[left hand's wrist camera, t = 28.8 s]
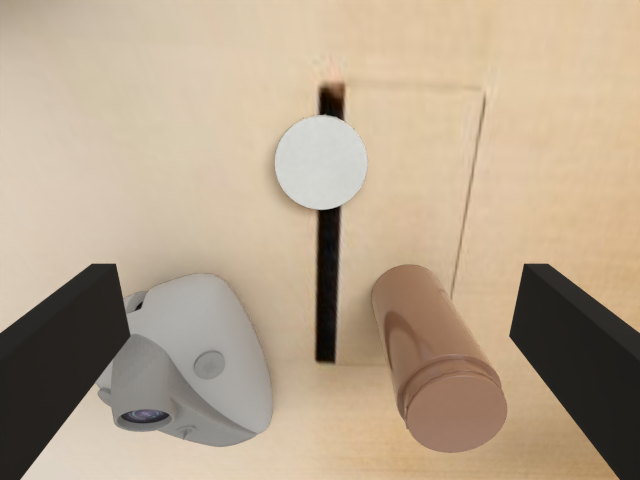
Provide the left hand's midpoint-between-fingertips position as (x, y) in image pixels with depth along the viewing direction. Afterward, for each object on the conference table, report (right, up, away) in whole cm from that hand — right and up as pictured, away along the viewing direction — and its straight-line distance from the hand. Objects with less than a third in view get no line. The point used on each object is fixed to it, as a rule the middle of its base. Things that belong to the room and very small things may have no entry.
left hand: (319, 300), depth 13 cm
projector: (-13, -12, +35) cm, 39 cm away
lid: (0, +9, +25) cm, 27 cm away
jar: (+10, -4, +32) cm, 34 cm away
